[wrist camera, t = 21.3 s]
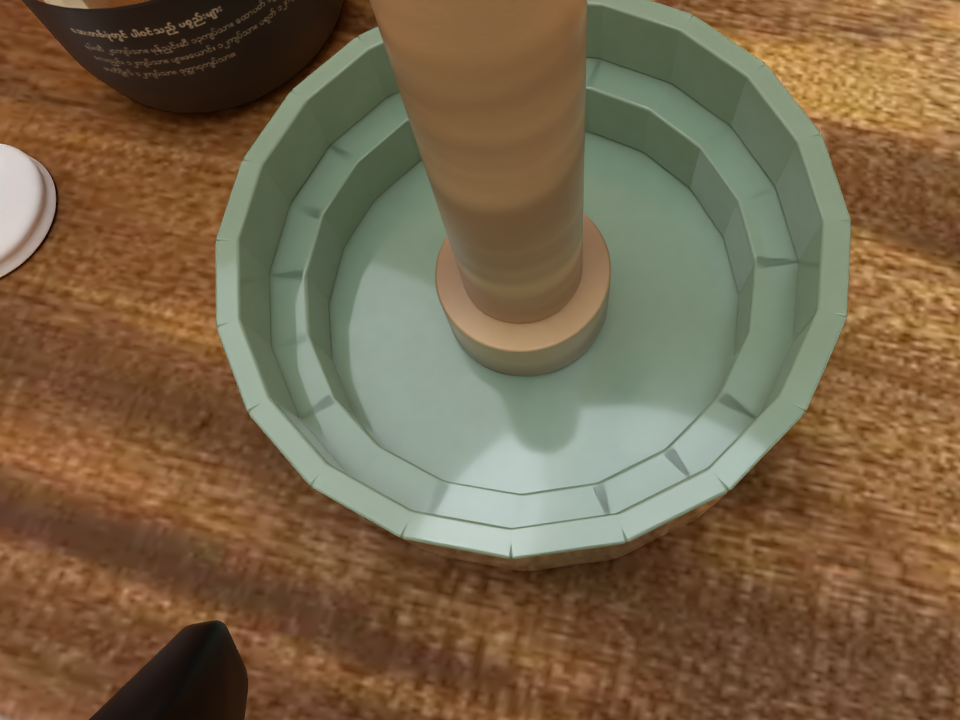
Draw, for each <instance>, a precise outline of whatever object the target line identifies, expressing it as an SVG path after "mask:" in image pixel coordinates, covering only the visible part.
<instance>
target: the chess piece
mask: <svg viewBox="0 0 960 720" xmlns="http://www.w3.org/2000/svg"><path fill="white" fill-rule="evenodd" d="M55 208H56V191H55V186H54V183H53V180H52V178H51V176H50V174H49V172H48V171H47V170H46V168H45V167H44V166H43V165H42V164H41V163H39V162H38V161H37V160H35V159H34V158H32V157H30V156H28V155H26V154H25V153H24V152H22V151H21V150H19V149H17V148H14V147H12V146H9V145H5V144H0V277H2V276H4V275H6V274H8V273H9V272H11V271H12V270H14V269H15V268H17V267H18V266H20V265H21V264H22V263H23V262H24V261H25V260H27V259H28V258H29V257H30V256H31V255H32V254H33V253H34V251H35V250H36V249H37V248H38V247H39V245H40V244H41V242H42V241H43V239H44V238H45V236H46V234H47V232H48V230H49V228H50V226H51V223H52V221H53V218H54V214H55Z"/></svg>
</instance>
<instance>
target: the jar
mask: <svg viewBox="0 0 960 720" xmlns="http://www.w3.org/2000/svg"><path fill="white" fill-rule="evenodd" d="M22 1H23V2H24V3H25V4H26V5H27V6H28V7H29V9H30V10H31V11H32V12H33V13H34V14H35V15H36V16H37V18H38V19H39V20H40V21H41V22H42V23H43V24H44V25H45V26H46V28H47V29H48V30H49V31H50V32H51V33H52V34H53V35H54V37H55V38H56V39H57V40H58V41H59V42H60V43H61V44H62V45H63V47H64V48H65V49H66V50H67V51H68V52H69V53H70V54H71V55H72V56H73V57H74V59H75V60H77V61H78V62H79V63H80V64H81V65H82V66H83V67H84V68H85V69H86V70H88V71H89V72H90V73H91V74H93V75H94V76H95V77H97V78H98V79H100V80H101V81H103V82H104V83H106V84H107V85H109V86H111V87H112V88H114V89H115V90H117V91H118V92H120V93H122V94H123V95H125V96H127V97H128V98H130V99H132V100H134V101H136V102H138V103H140V104H143V105H145V106H148V107H151V108H155V109H159V110H164V111H170V112H180V113H207V112H216V111H222V110H228V109H232V108H236V107H239V106H242V105H245V104H248V103H251V102H253V101H256V100H258V99H260V98H262V97H264V96H267V95H268V94H270V93H272V92H274V91H276V90H277V89H279V88H280V87H282V86H283V85H285V84H286V83H288V82H289V81H290V80H292V79H293V78H294V77H296V76H297V75H298V74H299V73H300V72H301V71H302V70H303V69H304V68H305V67H306V66H307V65H308V64H309V63H310V62H311V61H312V60H313V59H314V58H315V56H316V55H317V54H318V53H319V51H320V50H321V48H322V47H323V45H324V44H325V42H326V41H327V39H328V37H329V36H330V34H331V32H332V30H333V29H334V27H335V25H336V22H337V20H338V18H339V15H340V12H341V9H342V6H343V2H344V0H22Z"/></svg>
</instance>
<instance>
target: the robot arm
mask: <svg viewBox="0 0 960 720" xmlns="http://www.w3.org/2000/svg"><path fill="white" fill-rule="evenodd" d="M247 693H248V677H247V672H246V668H245V666H244V663H243V661H242V659H241V657H240V655H239V652H238V650H237V648H236V646H235V644H234V641H233V639H232V637H231V635H230V633H229V630H228V629H227V627H226V625H225V624H224V623H223V622H221V621H217V620H214V621H208V622H203V623H197V624H192V625H189V626H187V627H185V628H184V629H182V630H181V631H180V632H179V633H178V634H177V635H176V636H175V637H174V638H173V639H172V640H171V641H170V642H169V643H168V644H167V645H166V646H165V647H164V648H163V649H162V650H161V651H159V652H158V653H157V654H156V655H155V656H154V657H153V658H152V659H151V660H150V661H149V662H148V663H147V664H146V665H145V666H144V667H143V668H142V669H141V670H140V671H139V672H138V673H137V674H136V675H135V676H134V677H133V678H132V679H131V680H130V681H128V682H127V683H126V684H125V685H124V686H123V687H122V688H121V689H120V690H119V691H118V692H117V693H116V694H115V695H114V696H113V697H112V698H111V699H110V700H109V701H108V702H107V703H106V704H105V705H104V706H103V707H102V708H101V709H100V710H99V711H98V712H96V713H95V714H94V715H93V716H92V717H91V718H90V719H89V720H244V717H245V709H246V701H247Z"/></svg>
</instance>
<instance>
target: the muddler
mask: <svg viewBox="0 0 960 720" xmlns="http://www.w3.org/2000/svg"><path fill="white" fill-rule="evenodd" d="M369 1H370V4H371V7H372V10H373V13H374V16H375V19H376V22H377V25H378V28H379V31H380V34H381V37H382V40H383V43H384V46H385V49H386V52H387V55H388V58H389V61H390V64H391V67H392V70H393V73H394V76H395V79H396V82H397V85H398V88H399V91H400V94H401V97H402V100H403V103H404V106H405V109H406V112H407V115H408V118H409V121H410V124H411V127H412V130H413V133H414V136H415V139H416V143H417V146H418V149H419V152H420V155H421V158H422V161H423V164H424V167H425V170H426V173H427V176H428V179H429V182H430V185H431V188H432V191H433V194H434V197H435V200H436V203H437V206H438V209H439V212H440V215H441V218H442V221H443V224H444V227H445V230H446V233H447V236H446V238H445V240H444V242H443V244H442V246H441V248H440V251H439V254H438V258H437V261H436V269H435V284H436V290H437V294H438V297H439V301H440V303H441V306H442V308H443V311H444V313H445V315H446V318H447V320H448V322H449V325H450V327H451V329H452V332H453V334H454V336H455V338H456V339H457V341H458V342H459V344H460V345H461V347H462V348H463V349H464V350H465V351H466V352H467V353H468V354H469V355H470V356H471V357H472V358H473V359H475V360H476V361H477V362H479V363H480V364H482V365H484V366H485V367H487V368H490V369H492V370H494V371H497V372H500V373H503V374H508V375H514V376H537V375H542V374H547V373H550V372H553V371H556V370H559V369H561V368H563V367H565V366H567V365H569V364H570V363H572V362H573V361H575V360H576V359H578V358H579V357H580V356H581V355H582V354H584V353H585V352H586V351H587V350H588V348H589V347H590V346H591V345H592V344H593V342H594V341H595V340H596V338H597V337H598V335H599V333H600V331H601V329H602V327H603V324H604V321H605V318H606V313H607V308H608V299H609V289H610V279H611V262H610V255H609V251H608V248H607V245H606V242H605V240H604V238H603V236H602V234H601V232H600V231H599V229H598V228H597V226H596V225H595V224H594V223H593V221H592V220H591V219H590V218H589V217H588V216H587V215H586V214H584V213H583V207H584V154H585V101H586V47H587V0H369Z"/></svg>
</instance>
